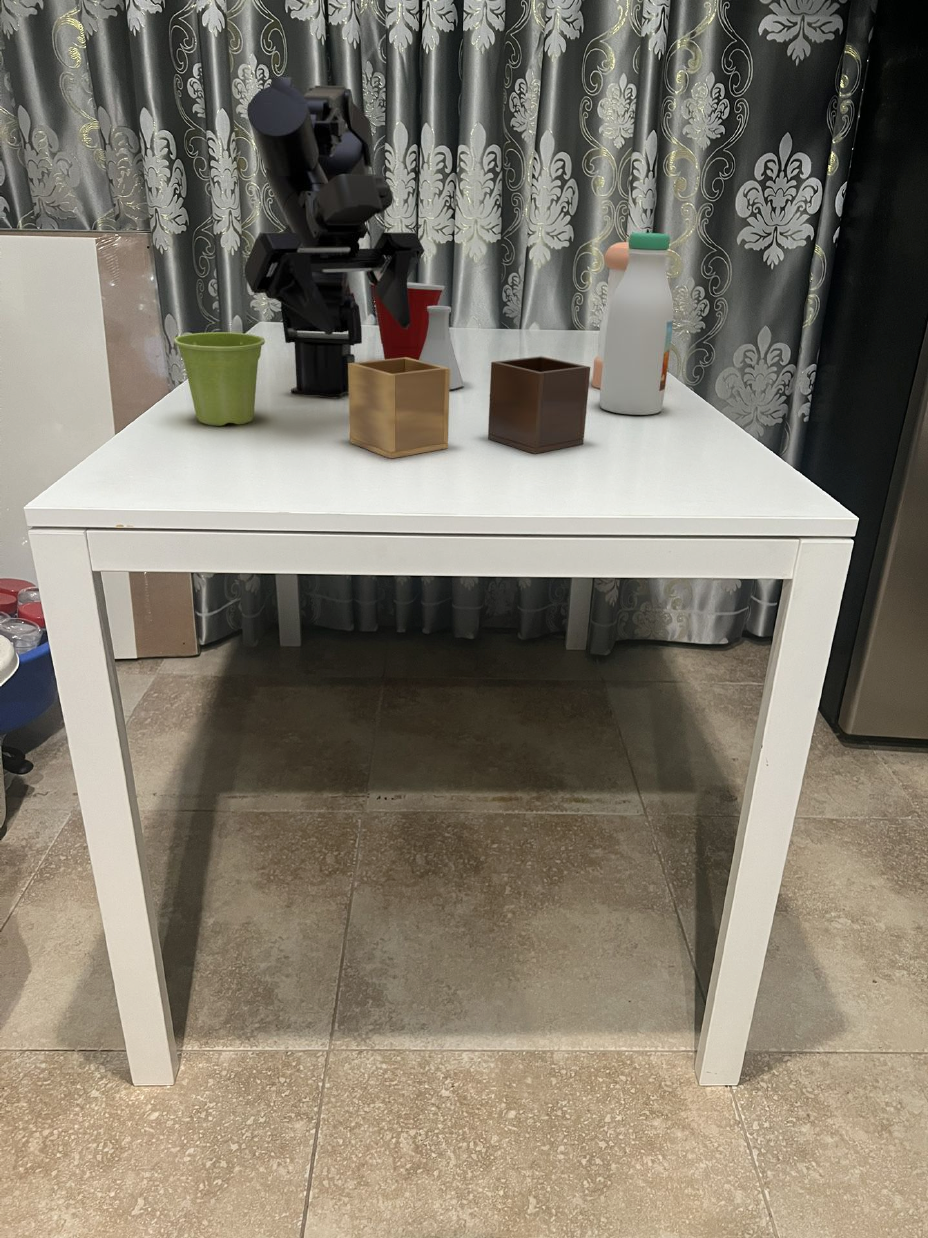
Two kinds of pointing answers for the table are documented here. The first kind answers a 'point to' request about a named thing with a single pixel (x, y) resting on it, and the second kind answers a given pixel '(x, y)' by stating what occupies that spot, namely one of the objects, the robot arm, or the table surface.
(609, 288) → the pepper shaker
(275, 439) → the table surface
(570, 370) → the box
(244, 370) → the plant pot
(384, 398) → the light brown open box
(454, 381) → the flask
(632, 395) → the milk bottle
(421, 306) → the plastic cup
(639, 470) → the table surface
